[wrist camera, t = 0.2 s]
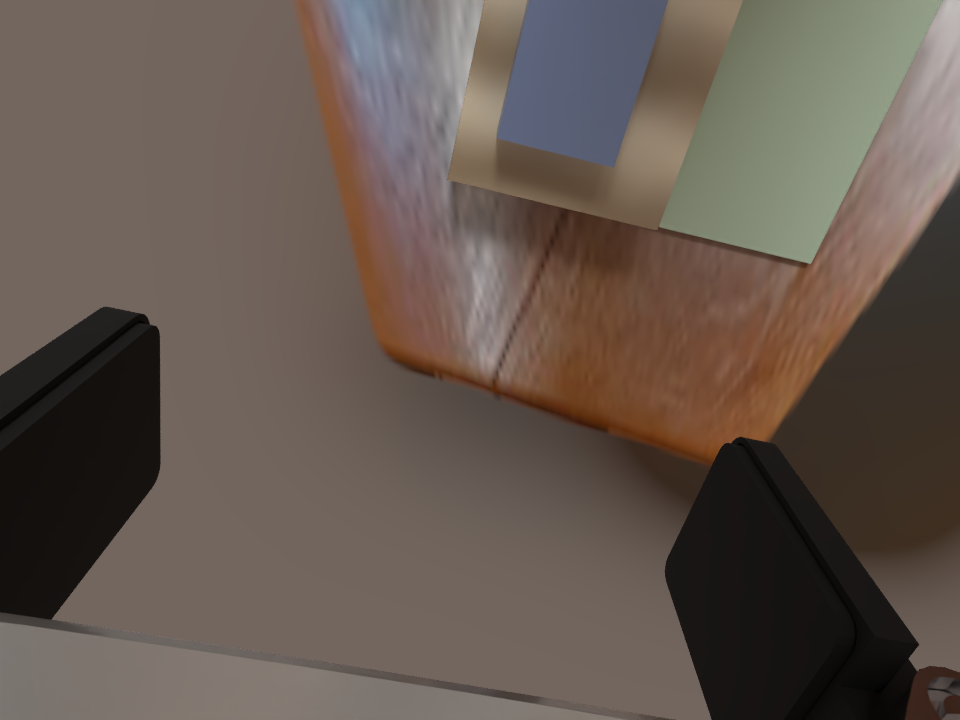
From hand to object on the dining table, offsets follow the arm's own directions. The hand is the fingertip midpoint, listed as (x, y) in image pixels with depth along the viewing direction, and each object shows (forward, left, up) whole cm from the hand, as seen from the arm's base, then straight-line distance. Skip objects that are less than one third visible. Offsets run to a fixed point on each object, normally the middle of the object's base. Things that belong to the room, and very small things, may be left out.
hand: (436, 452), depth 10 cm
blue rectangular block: (-7, +4, -25) cm, 26 cm away
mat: (-7, +17, -30) cm, 35 cm away
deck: (-7, +5, -30) cm, 31 cm away
